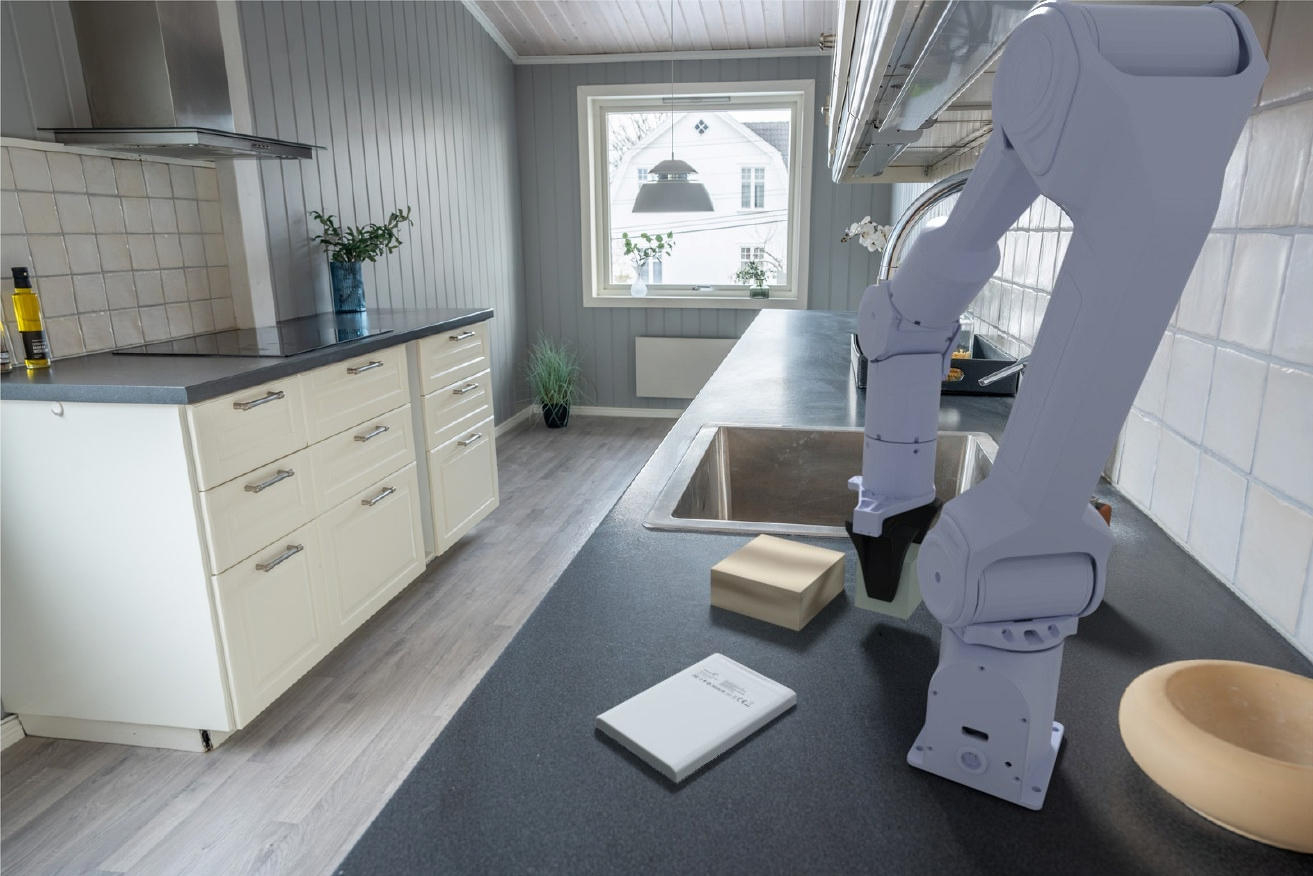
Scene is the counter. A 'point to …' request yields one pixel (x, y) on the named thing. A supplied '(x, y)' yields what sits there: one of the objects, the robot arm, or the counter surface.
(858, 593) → the sage block
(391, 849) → the counter surface
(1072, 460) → the robot arm
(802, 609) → the birch block
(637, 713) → the external hard drive
